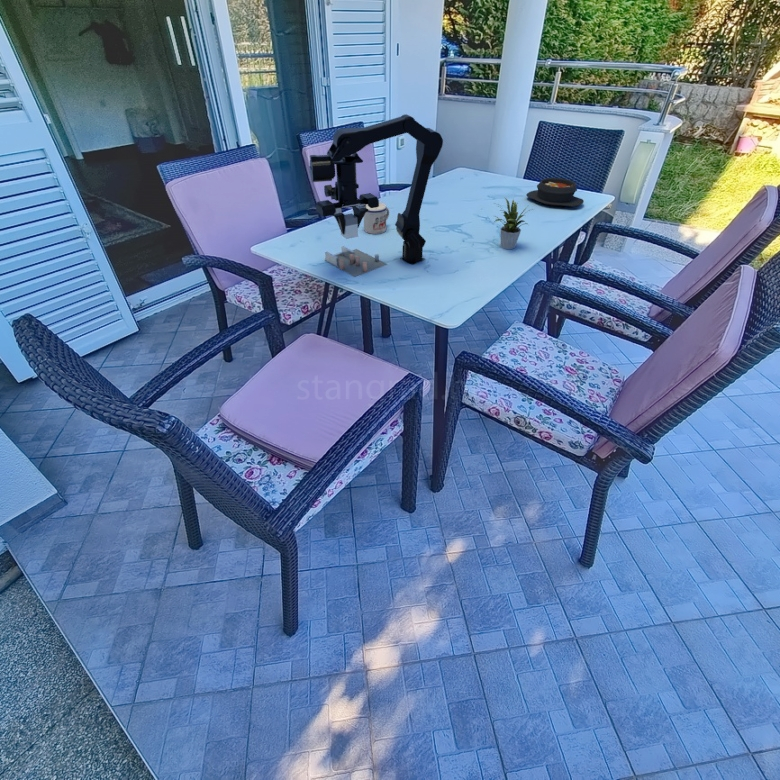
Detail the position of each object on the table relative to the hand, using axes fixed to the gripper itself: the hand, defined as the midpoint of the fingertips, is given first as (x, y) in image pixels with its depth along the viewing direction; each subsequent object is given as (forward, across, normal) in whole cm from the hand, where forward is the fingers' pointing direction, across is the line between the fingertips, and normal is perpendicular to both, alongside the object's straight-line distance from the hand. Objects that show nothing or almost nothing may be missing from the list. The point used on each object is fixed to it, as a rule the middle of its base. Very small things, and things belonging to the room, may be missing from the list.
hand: (349, 232), depth 140 cm
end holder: (+12, +1, -6) cm, 14 cm away
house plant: (+12, -57, +11) cm, 59 cm away
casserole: (+11, -108, -14) cm, 109 cm away
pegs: (+11, -4, +1) cm, 12 cm away
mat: (+12, -3, -3) cm, 13 cm away
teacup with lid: (+12, -25, -26) cm, 38 cm away
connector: (+1, 0, 0) cm, 1 cm away
